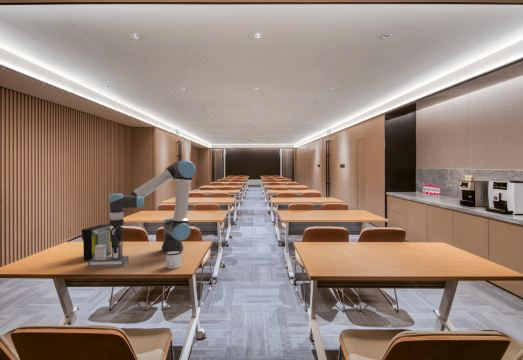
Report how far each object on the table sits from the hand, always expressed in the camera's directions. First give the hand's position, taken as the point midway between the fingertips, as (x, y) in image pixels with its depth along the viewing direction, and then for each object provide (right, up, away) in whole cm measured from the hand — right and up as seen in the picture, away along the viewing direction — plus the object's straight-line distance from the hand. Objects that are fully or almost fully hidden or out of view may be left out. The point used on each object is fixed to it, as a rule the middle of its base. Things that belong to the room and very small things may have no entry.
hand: (117, 256), depth 187 cm
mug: (+36, -5, -5) cm, 36 cm away
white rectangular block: (-10, -4, -1) cm, 11 cm away
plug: (0, -2, 0) cm, 2 cm away
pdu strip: (-5, -5, 0) cm, 7 cm away
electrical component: (-21, -4, +16) cm, 27 cm away
